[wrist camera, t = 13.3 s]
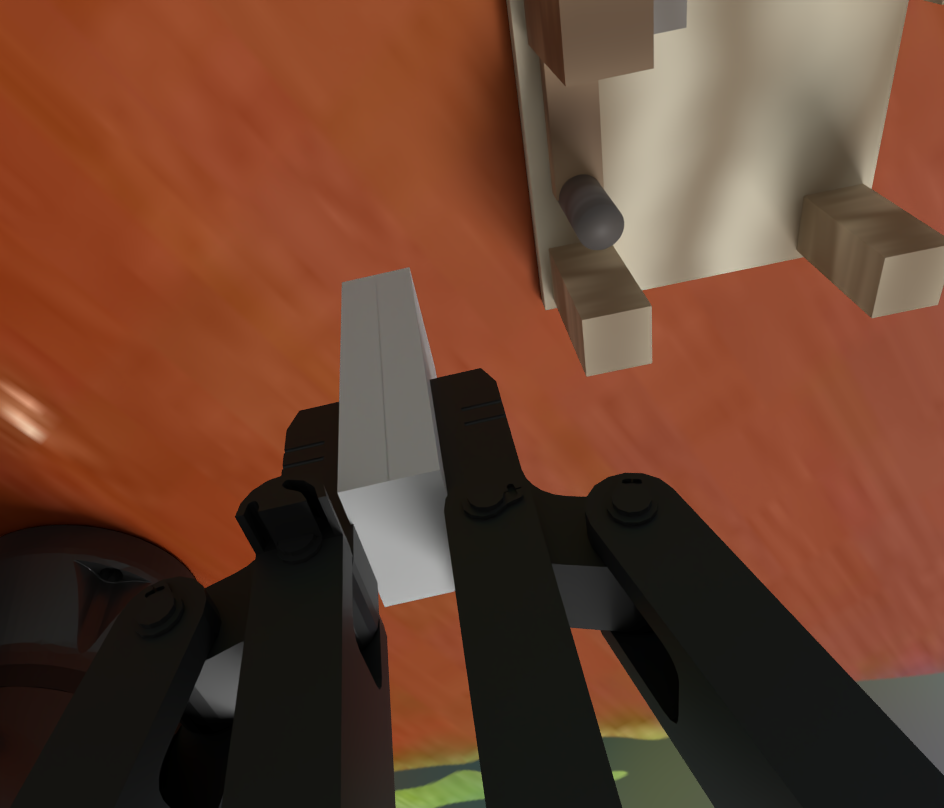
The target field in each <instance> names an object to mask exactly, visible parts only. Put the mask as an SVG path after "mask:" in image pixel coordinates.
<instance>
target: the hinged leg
mask: <svg viewBox="0 0 944 808" xmlns="http://www.w3.org/2000/svg"><path fill="white" fill-rule="evenodd" d="M524 10H525V19H526V29H527V38H528V45H529V46H530V47H531V48H532V49H533V50H534V52H535V53H536V54H537V55H538V56H539V61H540V71H541V81H542V92H543V102H544V112H545V122H546V132H547V143H548V153H549V163H550V173H551V183H552V193H553V195H554V197H555V198H556V200H557V201H558V203H559V205H560V206H561V208H562V210H563V212H564V213H565V215H566V217H567V219H568V221H569V222H570V224H571V226H572V228H573V230H574V231H575V233H576V235H577V237H578V239H579V240H580V242H581V243H582V244H583V245H584V246H585V247H586V248H588V249H591V250H603V249H606V248H609V247H610V246H612V245H613V244H615V243H616V242H617V241H618V240H619V238H620V237H621V235H622V233H623V230H624V218H623V216H622V214H621V212H620V211H619V209H618V208H617V207H616V205H615V204H614V203H613V201H612V200H611V198H610V197H609V196H608V194H607V193H606V191H605V190H604V182H603V162H602V142H601V122H600V102H599V82H598V80H601V79H606V78H611V77H616V76H620V75H625V74H630V73H635V72H639V71H644V70H649V69H654V0H524Z"/></svg>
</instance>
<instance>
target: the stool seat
mask: <svg viewBox="0 0 944 808" xmlns="http://www.w3.org/2000/svg"><path fill="white" fill-rule="evenodd" d="M908 1H909V0H654V69H649V70H644V71H639V72H635V73H630V74H625V75H620V76H616V77H611V78H606V79H601V80H598V82H599V102H600V122H601V142H602V162H603V182H604V190H605V191H606V193H607V194H608V196H609V197H610V198H611V200H612V201H613V203H614V204H615V205H616V207H617V208H618V209H619V211H620V212H621V214H622V216H623V218H624V230H623V233H622V235H621V237H620V238H619V240H618V241H617V242H616V243H615V244H613V245H612V246H610V247H609V248H606V249H603V250H591V249H588V248H586V247H585V246H584V245H583V244H582V243H581V242H580V240H579V239H578V237H577V235H576V233H575V231H574V230H573V228H572V226H571V224H570V222H569V221H568V219H567V217H566V215H565V213H564V212H563V210H562V208H561V206H560V205H559V203H558V201H557V200H556V198H555V197H554V195H553V193H552V183H551V173H550V163H549V153H548V143H547V132H546V122H545V112H544V102H543V92H542V81H541V71H540V61H539V56H538V55H537V54H536V53H535V52H534V50H533V49H532V48H531V47H530V46H529V45H528V38H527V29H526V19H525V10H524V0H506V2H507V11H508V19H509V27H510V36H511V44H512V53H513V61H514V70H515V78H516V86H517V95H518V103H519V112H520V120H521V129H522V137H523V145H524V154H525V162H526V171H527V179H528V187H529V196H530V204H531V213H532V221H533V230H534V238H535V246H536V255H537V263H538V272H539V280H540V289H541V297H542V302H543V305H544V307H545V310H549V309H554V308H558V311H559V313H560V316H561V318H562V320H563V323H564V325H565V327H566V330H567V332H568V334H569V337H570V339H571V341H572V344H573V346H574V349H575V351H576V353H577V356H578V358H579V360H580V363H581V365H582V367H583V370H584V372H585V374H586V377H587V376H592V375H597V374H602V373H606V372H611V371H616V370H621V369H626V368H631V367H636V366H641V365H646V364H650V363H652V306H651V304H650V303H649V301H648V299H647V298H646V296H645V295H644V293H643V292H642V290H646V289H651V288H656V287H660V286H665V285H670V284H675V283H680V282H685V281H690V280H694V279H699V278H704V277H709V276H714V275H719V274H724V273H728V272H733V271H738V270H743V269H748V268H753V267H758V266H762V265H767V264H772V263H777V262H782V261H787V260H792V259H796V258H801V257H805V258H806V259H807V260H808V261H809V262H810V263H811V264H812V265H813V266H814V267H816V268H817V269H818V270H819V271H820V272H821V273H822V274H823V275H824V276H826V277H827V278H828V279H829V280H830V281H831V282H832V283H833V284H834V285H836V286H837V287H838V288H839V289H840V290H841V291H842V292H843V293H844V294H845V295H847V296H848V297H849V298H850V299H851V300H852V301H853V302H854V303H855V304H857V305H858V306H859V307H860V308H861V309H862V310H863V311H864V312H865V313H866V314H868V315H869V316H870V317H871V318H875V317H880V316H885V315H890V314H895V313H899V312H904V311H909V310H914V309H919V308H924V307H929V306H934V305H938V302H939V299H940V295H941V292H942V288H943V285H944V236H943V235H942V234H940V233H939V232H937V231H935V230H934V229H932V228H931V227H929V226H928V225H926V224H925V223H923V222H922V221H920V220H918V219H917V218H915V217H914V216H912V215H911V214H909V213H908V212H906V211H905V210H903V209H901V208H900V207H898V206H897V205H895V204H894V203H892V202H891V201H889V200H888V199H886V198H884V197H883V196H881V195H880V194H878V193H877V192H875V191H874V190H872V184H873V178H874V173H875V168H876V163H877V158H878V153H879V148H880V143H881V138H882V133H883V128H884V123H885V118H886V112H887V107H888V102H889V97H890V92H891V87H892V82H893V77H894V72H895V67H896V62H897V57H898V52H899V47H900V41H901V36H902V31H903V26H904V21H905V16H906V11H907V6H908ZM925 1H929V2H933V3H937V4H941V5H943V4H944V0H925Z"/></svg>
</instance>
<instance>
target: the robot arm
mask: <svg viewBox="0 0 944 808" xmlns="http://www.w3.org/2000/svg"><path fill="white" fill-rule="evenodd" d="M284 450H285V453H284V458H283V470H282V475H281V476H280V477H277V478H274V479H271V480H269V481H266V482H265V483H263V484H262V485H260V486H259V487H257V488H256V489H254V490H253V491H252V492H251V493H250V494H249V495H248V496H247V497H246V498H245V499H244V500H243V501H242V503H241V504H240V506H239V509H238V511H237V513H236V516H235V518H236V520H237V521H238V523H239V525H240V527H241V528H242V530H243V532H244V534H245V536H246V537H247V539H248V541H249V543H250V544H251V546H252V548H253V550H254V552H255V553H256V559H255V560H254V561H253V562H252V563H250V564H249V565H248V566H247V567H245V568H243V569H242V570H240V571H238V572H237V573H235V574H233V575H231V576H229V577H227V578H225V579H223V580H221V581H219V582H217V583H215V584H213V585H211V586H209V587H207V588H204V587H203V586H202V585H201V584H200V583H199V582H197V581H196V579H195V578H194V576H193V575H192V574H191V573H190V571H189V570H188V569H187V568H186V567H185V566H184V565H183V564H182V563H180V562H179V561H178V560H177V559H175V558H174V557H173V556H171V555H170V554H168V553H167V552H165V551H164V550H162V549H160V548H158V547H156V546H154V545H152V544H150V543H148V542H146V541H143V540H141V539H138V538H136V537H133V536H130V535H127V534H124V533H120V532H116V531H112V530H107V529H102V528H96V527H88V526H77V525H51V526H41V527H34V528H28V529H23V530H19V531H16V532H12V533H9V534H7V535H4V536H2V537H0V808H396V807H395V789H394V768H393V748H392V728H391V708H390V689H389V669H388V649H387V635H386V632H385V628H384V625H383V622H382V620H381V618H380V615H379V605H378V592H379V594H380V597H381V599H382V601H383V604H384V606H385V607H387V606H391V605H396V604H400V603H404V602H409V601H413V600H418V599H422V598H427V597H431V596H435V595H440V594H444V593H449V592H453V591H455V592H456V599H457V606H458V613H459V620H460V627H461V634H462V641H463V648H464V655H465V662H466V669H467V676H468V683H469V690H470V697H471V704H472V711H473V718H474V725H475V732H476V739H477V746H478V753H479V760H480V767H481V774H482V781H483V788H484V795H485V802H486V808H622V805H621V802H620V799H619V795H618V792H617V788H616V785H615V781H614V778H613V774H612V771H611V767H610V764H609V761H608V757H607V754H606V750H605V747H604V743H603V740H602V736H601V733H600V729H599V726H598V723H597V719H596V716H595V712H594V709H593V705H592V702H591V698H590V695H589V691H588V688H587V685H586V681H585V678H584V674H583V671H582V667H581V664H580V660H579V657H578V653H577V650H576V647H575V643H574V640H573V636H572V633H571V629H570V627H571V628H583V629H595V630H601V633H602V635H603V636H604V638H605V639H606V641H607V642H608V644H609V645H610V647H611V649H612V650H613V652H614V653H615V655H616V656H617V658H618V659H619V661H620V662H621V664H622V665H623V667H624V669H625V670H626V672H627V673H628V675H629V676H630V678H631V679H632V681H633V682H634V684H635V685H636V687H637V689H638V690H639V692H640V693H641V695H642V696H643V698H644V699H645V701H646V702H647V704H648V706H649V707H650V709H651V710H652V712H653V713H654V715H655V716H656V718H657V719H658V721H659V722H660V724H661V726H662V727H663V729H664V730H665V732H666V733H667V735H668V736H669V738H670V739H671V741H672V742H673V744H674V746H675V747H676V749H677V750H678V752H679V753H680V755H681V756H682V758H683V759H684V761H685V762H686V764H687V766H688V767H689V769H690V770H691V772H692V773H693V775H694V776H695V778H696V779H697V781H698V783H699V784H700V786H701V787H702V789H703V790H704V792H705V793H706V795H707V796H708V798H709V799H710V801H711V803H712V804H713V805H714V807H715V808H944V775H943V774H942V773H941V772H940V771H939V770H938V769H937V768H936V767H935V766H934V765H933V764H932V763H931V761H929V759H928V758H927V757H926V756H925V755H924V754H923V753H922V752H921V751H920V750H919V749H918V748H917V747H916V746H915V745H914V744H913V742H912V741H910V739H909V738H908V737H907V736H906V735H905V734H904V733H903V732H902V731H901V730H900V729H899V728H898V727H897V725H895V723H894V722H893V721H892V720H891V719H890V718H889V717H888V716H887V715H886V714H885V713H884V712H883V711H882V710H881V708H880V707H879V706H878V705H877V704H876V703H875V702H874V701H873V700H872V699H871V698H870V697H869V696H868V695H867V694H866V693H865V691H864V690H863V689H861V687H860V686H859V685H858V684H857V683H856V682H855V681H854V680H853V679H852V678H851V677H850V676H849V675H848V673H847V672H846V671H845V670H844V669H843V668H842V667H841V666H840V665H839V664H838V663H837V662H836V661H835V660H834V659H833V658H832V657H831V655H830V654H829V653H828V652H827V651H826V650H825V649H824V648H823V647H822V646H821V645H820V644H819V643H818V642H817V641H816V640H815V638H814V637H813V636H812V635H811V634H810V633H809V632H808V631H807V630H806V629H805V628H804V627H803V626H802V625H801V624H800V623H799V622H798V620H797V619H796V618H795V617H794V616H793V615H792V614H791V613H790V612H789V611H788V610H787V609H786V608H785V607H784V606H783V605H782V604H781V602H780V601H779V600H778V599H777V598H776V597H775V596H774V595H773V594H772V593H771V592H770V591H769V590H768V589H767V588H766V587H765V585H764V584H763V583H762V582H761V581H760V580H759V579H758V578H757V577H756V576H755V575H754V574H753V573H752V572H751V571H750V570H749V569H748V567H747V566H746V565H745V564H744V563H743V562H742V561H741V560H740V559H739V558H738V557H737V556H736V555H735V554H734V553H733V552H732V551H731V549H730V548H729V547H728V546H727V545H726V544H725V543H724V542H723V541H722V540H721V539H720V538H719V537H718V536H717V535H716V534H715V532H714V531H713V530H712V529H711V528H710V527H709V526H708V525H707V524H706V523H705V522H704V521H703V520H702V519H701V518H700V517H699V516H698V514H697V513H696V512H695V511H694V510H693V509H692V508H691V507H690V506H689V505H688V504H687V503H686V502H685V501H684V500H683V499H682V498H681V496H680V495H679V494H678V493H677V492H676V491H675V490H674V489H673V488H672V487H670V486H669V485H668V484H666V483H665V482H663V481H662V480H661V479H659V478H656V477H653V476H650V475H646V474H643V473H623V474H619V475H615V476H611V477H608V478H606V479H604V480H603V481H601V482H600V483H598V484H597V485H595V486H594V487H593V489H592V490H591V492H590V493H589V494H588V496H587V497H576V496H562V495H554V494H551V493H548V492H545V491H542V490H540V489H539V488H537V487H535V486H534V485H532V484H531V483H530V482H529V481H528V480H527V479H526V477H525V475H524V473H523V471H522V469H521V466H520V463H519V459H518V456H517V452H516V449H515V445H514V442H513V438H512V435H511V432H510V428H509V425H508V421H507V418H506V415H505V411H504V407H503V404H502V401H501V397H500V393H499V390H498V387H497V383H496V381H495V380H494V379H493V378H492V377H490V376H489V375H488V374H487V373H486V372H485V371H484V370H482V369H481V368H479V369H475V370H470V371H466V372H461V373H457V374H452V375H448V376H444V377H439V378H437V377H436V371H435V366H434V362H433V358H432V354H431V350H430V347H429V343H428V339H427V335H426V331H425V327H424V323H423V319H422V315H421V311H420V307H419V303H418V299H417V295H416V291H415V287H414V283H413V280H412V276H411V272H410V268H405V269H400V270H396V271H391V272H387V273H382V274H378V275H373V276H369V277H365V278H360V279H356V280H351V281H347V282H342V308H341V352H340V397H339V402H336V403H332V404H327V405H323V406H319V407H314V408H310V409H305V410H301V411H299V412H298V414H297V415H296V417H295V418H294V420H293V421H292V423H291V425H290V426H289V428H288V429H287V432H286V441H285V449H284Z"/></svg>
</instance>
